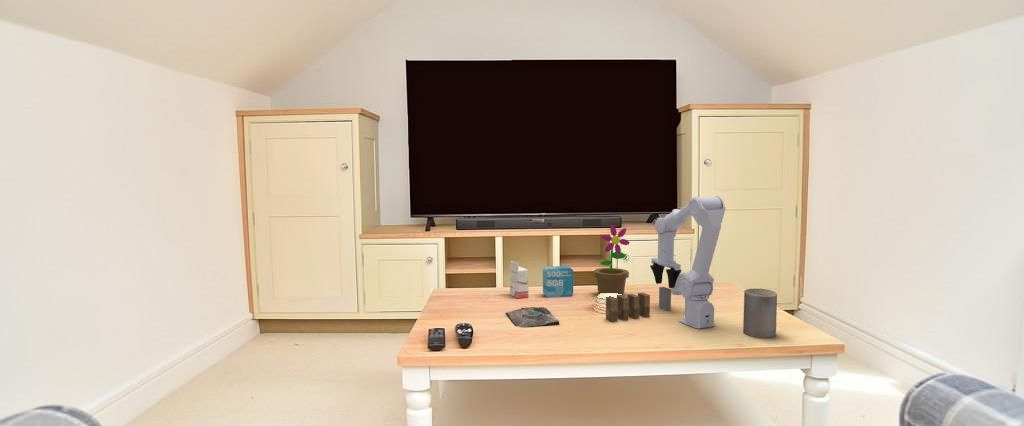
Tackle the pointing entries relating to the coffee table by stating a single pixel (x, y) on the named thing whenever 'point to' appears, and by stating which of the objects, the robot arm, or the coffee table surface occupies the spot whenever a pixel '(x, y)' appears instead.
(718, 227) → the robot arm
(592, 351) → the coffee table surface
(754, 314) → the pillar candle
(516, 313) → the terrain model
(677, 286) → the medicine box
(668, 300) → the tile
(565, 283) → the data package
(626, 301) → the tile
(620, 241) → the flowerpot
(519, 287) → the ink cartridge box
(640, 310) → the tile
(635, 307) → the tile
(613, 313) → the tile
